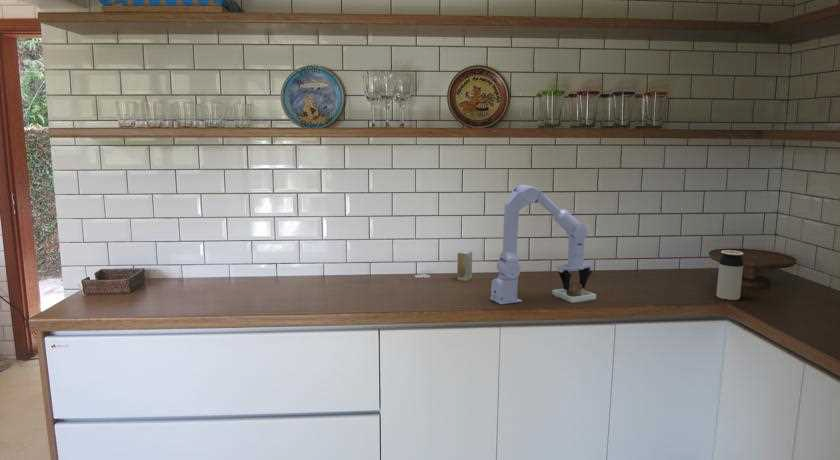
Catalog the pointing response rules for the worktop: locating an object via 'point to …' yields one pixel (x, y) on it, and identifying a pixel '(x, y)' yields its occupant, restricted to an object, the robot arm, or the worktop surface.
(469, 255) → the skincare box
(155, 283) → the worktop surface
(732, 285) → the travel mug
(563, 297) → the tray
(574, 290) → the walnut block
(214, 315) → the worktop surface
